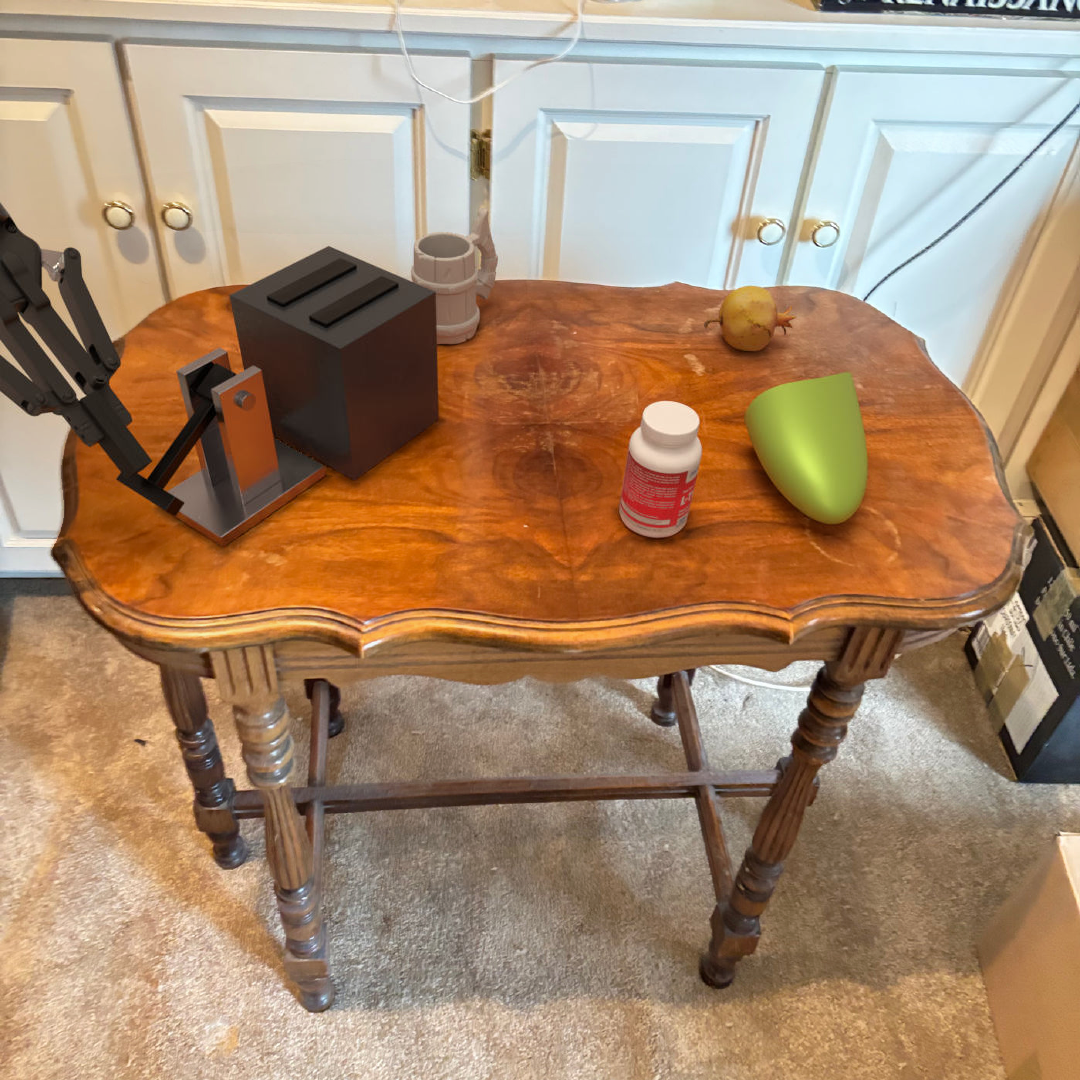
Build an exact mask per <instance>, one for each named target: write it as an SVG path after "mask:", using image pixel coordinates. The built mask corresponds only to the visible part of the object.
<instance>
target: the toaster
mask: <svg viewBox="0 0 1080 1080" xmlns="http://www.w3.org/2000/svg"><path fill="white" fill-rule="evenodd" d="M229 300H230V305H231V310H232V314H233V320H234V321H233V322H234V327H235V330H236V331H235V332H236V336H237V341H238V346H239V351H240V357H241V363H242V368H243V371H244V370H246V369H248V368H250V367H251V366H256V367H258V368H260V369H261V370H262V374H263V380H264V385H265V391H266V397H267V402H268V408H269V414H270V419H271V425H272V430H273V436H274V438H275V439H277V440H279V441H281V442H283V443H284V444H286V445H288V446H290V447H292V448H293V449H295V450H297V451H299V452H301V453H302V454H304V455H306V456H308V457H310V458H311V459H313V460H315V461H317V462H319V463H321V464H322V465H324V466H327V467H328V468H331V469H333V470H334V471H336V472H338V473H340V474H341V475H343V476H345V477H347V478H348V479H351V480H352V481H354V482H355V481H356V480H358V479H359V478H360V477H362V476H363V475H364V474H366V473H367V472H368V471H370V470H371V469H373V468H374V467H376V466H377V465H378V464H380V463H381V462H382V461H384V460H385V459H386V458H388V457H389V456H391V455H392V454H393V453H395V452H396V451H397V450H399V449H400V448H402V447H403V446H404V445H405V444H407V443H409V442H410V441H411V440H412V439H414V438H415V437H416V436H419V434H421V433H423V431H425V430H426V429H428V428H429V427H431V426H432V425H433V424H435V423H436V422H437V421H439V420H440V414H439V413H440V412H439V375H438V374H439V371H438V344H437V324H436V292H435V291H433V290H430V289H428V288H426V287H423V286H421V285H419V284H416V283H414V282H413V281H412V280H409V279H407V278H404V277H402V276H399V275H398V274H395V273H392V272H391V271H388V270H386V269H384V268H382V267H379V266H376V265H374V264H372V263H370V262H368V261H365V260H362V259H360V258H358V257H356V256H353V255H351V254H349V253H346V252H345V251H341V250H340V249H337V248H334V247H332V246H330V245H328V246H326V247H323V248H321V249H319V250H317V251H315V252H313V253H311V254H309V255H307V256H305V257H303V258H301V259H299V260H298V261H296V262H293V263H291V264H289V265H287V266H286V267H285V266H284V267H283V268H282V269H279V270H277V271H275V272H273V273H271V274H269V275H267V276H265V277H262V278H261V279H259V280H257V281H255V282H252V283H251V284H249V285H247V286H245V287H243V288H241V289H238V290H237V291H235V292H233V293H230V294H229Z"/></svg>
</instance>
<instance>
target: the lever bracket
mask: <svg viewBox="0 0 1080 1080" xmlns="http://www.w3.org/2000/svg"><path fill="white" fill-rule="evenodd" d="M228 353H229V352H228V351H227V350H225V349H223V348H221V347H218V348H216V349H214V350H212V351H210V352H209V353H206V354H204V355H203V356H201V357H199V358H197V359H195V360H193V361H191V362H189V363H188V364H186V365H184V366H182V367H180V368H179V369H176V375H177V379H178V384H179V387H180V391H181V395H182V399H183V403H184V407H185V411H186V415H187V420H189V419H190V418H191V416H192V415H193V414H194V412H195V411H196V409H197V408H198V407H199V405H200V404H201V402H202V401H203V400H204V397H203V396H202V395H200V394H199V393H198V392H197V391H196V390H197V388H198V387H199V385H200V384H201V383H202V381H203V380H204V378H205V377H206V376H207V374H208V373H209V371H210V370H211V369H212V367H213V366H214V364H215V363H217V364H219V365H221V366H223V367H225V368H227V369H229V370H231V371H232V368H231V363H230V359H229V354H228ZM236 374H237V375H235V376H234V377H232V378H230V379H228V380H227V381H225V382H223V383H221V384H219V385H218V386H216V387H214V388H212V389H211V393H212V397H213V402H214V406H215V411H216V416H215V417H214V419H213V420H212V421H211V423H210V424H209V426H208V427H207V428H206V430H205V431H204V433H203V434H202V435H201V437H200V438H199V440H198V441H197V443H196V444H195V445H194V447H195V451H196V454H197V458H198V462H199V466H200V470H199V471H197V472H196V473H194V474H193V475H191V476H189V477H188V478H186V479H185V480H183V481H181V482H180V483H178V484H177V485H175V486H173V487H172V488H170V489H168V490H166V491H167V492H169V493H170V494H172V495H173V496H175V497H177V498H178V499H180V500H181V501H183V502H184V505H183V506H182V508H181V509H180V511H179V512H178V514H177V515H176V516H174V518H177V519H178V520H180V521H181V522H183V523H184V524H186V525H188V526H189V527H190V528H192V529H194V530H195V531H196V532H199V533H200V534H201V535H203V536H205V537H206V538H208V539H210V540H211V541H212V542H215V543H216V544H217V545H218V546H221V547H222V548H225V547H226V546H227V545H229V544H230V543H232V542H233V541H234V540H236V539H237V538H239V537H240V536H242V535H243V534H245V533H246V532H248V531H249V530H250V529H252V528H253V527H255V526H257V524H259V523H260V522H262V521H263V520H265V519H266V518H267V517H269V516H270V515H271V514H273V513H275V512H276V511H277V510H278V509H280V508H282V507H283V506H284V505H286V504H287V503H289V502H290V501H292V500H293V499H294V498H296V497H298V496H299V495H300V494H301V493H303V492H304V491H305V490H307V489H308V488H310V487H311V486H313V485H314V484H316V483H317V482H319V481H320V480H321V479H323V478H324V477H326V475H327V474H326V467H325V464H323V463H322V462H320V461H318V460H316V459H314V458H312V457H311V456H309V455H307V454H305V453H303V452H302V451H300V450H298V449H296V448H294V447H293V446H291V445H289V444H287V443H285V442H283V441H282V440H280V439H278V438H276V437H274V436H273V430H272V425H271V419H270V414H269V408H268V402H267V397H266V391H265V385H264V380H263V374H262V370H261V369H260V368H258V367H256V366H251V367H250V368H248V369H246V370H244V369H243V371H240V372H239V373H236Z"/></svg>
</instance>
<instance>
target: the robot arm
mask: <svg viewBox="0 0 1080 1080" xmlns="http://www.w3.org/2000/svg"><path fill="white" fill-rule="evenodd" d="M43 269H45V270H46V272H47V274H48V275H47V276H48V277H49V278H50V280H51V281H52V282H56V283H57V288H58V290H59V294H60V297H61V299H62V301H63V303H64V305H65V308H66V310H67V312H68V314H69V316H70V318H71V321H72V323H73V325H74V327H75V329H76V332H77V334H78V336H79V338H80V340H81V342H80V341H79V340H78V339H77V337H76V336H75V335H74V333H73V332H72V331H71V329H70V328H69V326H68V325H67V323H65V321H64V319H62V317H61V316H60V315H59V314H58V312H57V311H56V310H55V308H54V307H53V305H52V302H51V299H50V297H49V296H48V295H47V294H46V292H45V291H44V290H43ZM21 318H22V320H23V321H24V322H25V323H26V324H27V325H30V326H31V327H32V328H33V330H34V331H35V333H37V335H38V336H39V338H40V339H41V340H42V342H43V343H44V344H45V345H46V346H47V348H48V349H49V350H50V352H51V353H52V354H53V356H54V357H55V358H56V360H57V361H58V362H59V363H60V366H62V367H63V369H64V370H65V371H66V373H67V374H68V375H69V376H70V378H71V379H72V380H73V382H74V383H75V384H76V385H77V387H78V388H79V389H80V391H81V392H82V393H83V394H84V395H85V396H83V397H81V398H80V399H78V395H77V392H76V391H75V389H74V388H73V387H72V385H71V384H70V383H69V382H68V380H67V379H66V378H65V376H64V375H63V374H62V372H61V371H60V369H59V368H58V367H57V366H56V364H55V363H54V362H53V360H52V359H51V358H50V356H49V355H48V354H47V353H46V352H45V350H44V349H43V348H42V346H41V345H40V343H39V342H38V341H37V340H36V338H35V337H34V336H33V335H32V333H31V332H30V331H29V329H28V328H27V326H26V325H25V324H24V323H23V321H22V320H21ZM107 330H108V329H107V328H106V325H105V323H104V321H103V319H102V317H101V314H100V312H99V310H98V308H97V306H96V304H95V302H94V299H93V296H92V294H91V292H90V291H89V289H88V286H87V284H86V282H85V279H84V277H83V270H82V254H81V252H80V251H79V250H78V249H76V248H75V247H72V246H71V247H70V246H69V247H66V248H64V250H63V251H59V250H58V251H57V250H51V249H46V248H41V246H40V244H39V243H38V242H37V241H35V240H34V238H31V237H30V236H28V235H26V233H24V232H22V231H21V230H20V229H19V228H18V226H17V224H16V222H15V221H14V219H13V217H12V216H11V215H10V213H9V212H8V210H7V209H6V208H5V207H4V205H3V204H2V202H0V342H1V343H2V345H3V346H4V347H5V348H6V350H7V351H8V352H9V353H10V355H11V356H12V358H14V360H15V361H16V362H17V364H18V365H19V366H20V368H21V369H22V370H23V371H24V373H25V374H26V375H27V376H26V375H25V374H24V373H23V372H22V371H20V370H19V369H18V368H17V367H16V366H15V365H14V364H12V363H11V362H9V361H8V360H7V359H6V358H5V357H4V356H2V355H1V354H0V393H2V394H3V395H4V397H6V398H7V399H9V400H10V401H11V402H12V403H14V404H15V405H16V406H17V407H19V408H20V409H21V410H22V411H24V412H25V413H26V414H27V415H29V416H31V417H39V416H40V415H42V414H43V415H44V414H49V413H52V414H53V415H55V416H61V417H62V418H63V419H64V420H65V421H66V422H67V424H68V425H69V427H70V428H71V429H72V430H73V432H75V434H76V435H77V437H78V438H79V439H80V440H81V442H82V443H83V444H84V445H86V447H89V448H92V447H94V446H95V445H97V444H98V445H99V446H100V448H101V449H102V451H104V453H105V454H106V455H107V456H108V457H109V459H110V460H111V462H112V463H113V464H114V465H115V467H116V468H117V469H118V471H119V472H120V473H122V474H123V476H124V477H125V478H126V479H129V478H130V477H132V476H134V475H135V474H137V473H138V474H139V473H140V472H142V471H144V469H146V468H147V467H148V466H149V465H150V464H151V463H153V460H152V458H151V457H150V456H149V454H148V453H147V452H146V451H145V449H144V447H143V446H142V445H141V444H140V443H139V441H138V439H137V438H136V437H135V436H134V435H133V433H132V432H131V431H130V429H129V428H128V427H129V425H131V423H133V417H132V415H131V413H130V412H129V410H128V409H127V408H126V406H125V405H124V404H123V402H122V400H120V398H119V397H118V396H117V394H116V393H115V391H114V390H113V389H112V387H111V385H110V379H112V377H113V376H114V375H115V374H116V372H117V371H118V370H119V368H120V367H121V365H122V362H121V358H120V357H119V356H120V355H118V352H117V350H116V347H115V346H114V343H113V340H112V339H111V337H110V334H109V333H108V331H107ZM81 343H82V344H81Z"/></svg>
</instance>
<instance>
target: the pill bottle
mask: <svg viewBox="0 0 1080 1080" xmlns="http://www.w3.org/2000/svg"><path fill="white" fill-rule="evenodd" d="M699 429H700V417H699V415H698V414H697V412H696V411H695V410H694V409H693V408H691V407H690V406H688V405H686V404H683V403H682V402H678V401H671V400H660V401H656V402H652V403H650V404H649V405H647V406H646V407H645V408H644V410H643V412H642V416H641V421H640V426H639V427H637V428H636V429H635V430H634V431H633V433H632V434H631V436H630V439H629V443H628V447H627V455H626V462H625V468H624V474H623V479H622V480H623V481H622V486H621V487H622V488H621V493H620V499H619V505H618V506H619V507H618V509H619V510H618V513H619V515H620V519H621V520H622V522H623V524H624V525H625V526H626V527H627V528H628V529H630V530H631V531H632V532H634V533H636V534H638V535H640V536H644V537H649V538H667V537H671V536H673V535H676V534H677V533H679V532H680V531H681V530H682V529H683V528H684V527H685V526H686V523H687V522H688V518H689V513H690V509H691V505H692V500H693V495H694V491H695V488H696V487H695V486H696V482H697V478H698V474H699V470H700V465H701V461H702V454H703V447H702V443H701V439H699V436H698V432H699Z"/></svg>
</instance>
